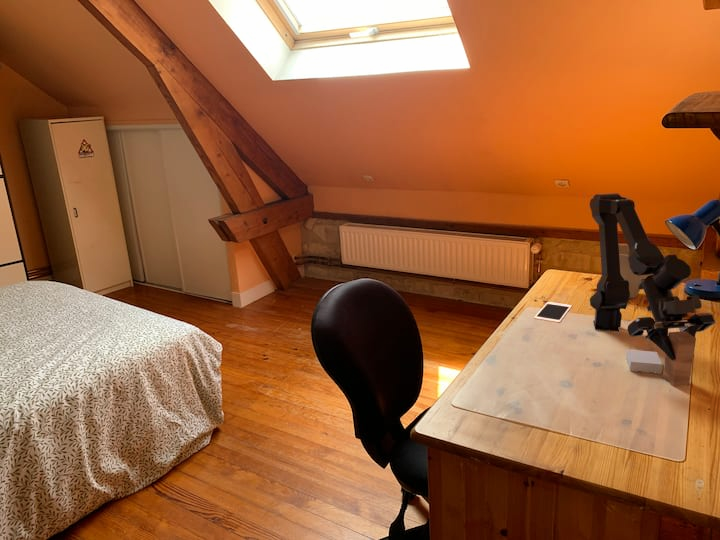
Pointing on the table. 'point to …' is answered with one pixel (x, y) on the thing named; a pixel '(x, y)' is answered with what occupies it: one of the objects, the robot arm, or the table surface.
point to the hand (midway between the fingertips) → (683, 358)
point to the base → (643, 361)
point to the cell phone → (553, 312)
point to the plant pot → (629, 271)
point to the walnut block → (680, 359)
